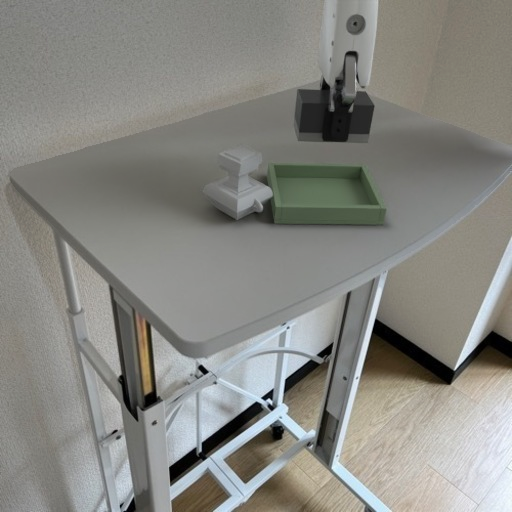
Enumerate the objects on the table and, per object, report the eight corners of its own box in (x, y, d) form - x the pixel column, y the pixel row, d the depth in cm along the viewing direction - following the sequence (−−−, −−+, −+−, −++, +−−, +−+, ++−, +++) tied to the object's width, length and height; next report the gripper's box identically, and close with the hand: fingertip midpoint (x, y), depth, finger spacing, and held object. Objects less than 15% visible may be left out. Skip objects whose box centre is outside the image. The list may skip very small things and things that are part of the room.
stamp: (196, 205, 75) (196, 148, 70) (232, 189, 79) (233, 134, 74) (243, 233, 70) (246, 173, 65) (278, 214, 74) (283, 157, 69)
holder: (362, 179, 83) (365, 164, 82) (383, 225, 73) (386, 208, 72) (266, 178, 82) (268, 162, 81) (274, 223, 72) (275, 206, 70)
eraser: (359, 127, 74) (366, 91, 71) (367, 143, 70) (375, 105, 67) (293, 125, 73) (297, 88, 70) (297, 141, 69) (302, 103, 66)
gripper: (407, -6, 54) (373, 161, 65) (368, -34, 68) (346, 107, 79) (332, -10, 54) (311, 160, 64) (308, -38, 67) (294, 106, 78)
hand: (330, 129), depth 71 cm, fingers closed on eraser, 5 cm apart
